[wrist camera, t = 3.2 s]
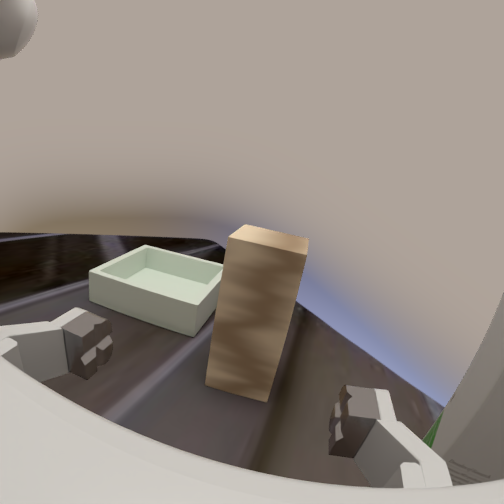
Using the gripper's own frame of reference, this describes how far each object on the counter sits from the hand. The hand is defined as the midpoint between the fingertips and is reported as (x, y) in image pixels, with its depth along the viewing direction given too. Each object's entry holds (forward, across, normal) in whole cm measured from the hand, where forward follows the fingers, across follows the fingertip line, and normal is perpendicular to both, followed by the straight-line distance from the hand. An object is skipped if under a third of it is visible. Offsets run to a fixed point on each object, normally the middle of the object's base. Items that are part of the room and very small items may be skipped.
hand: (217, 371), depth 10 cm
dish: (+23, +12, +10) cm, 28 cm away
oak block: (+13, 0, +10) cm, 17 cm away
